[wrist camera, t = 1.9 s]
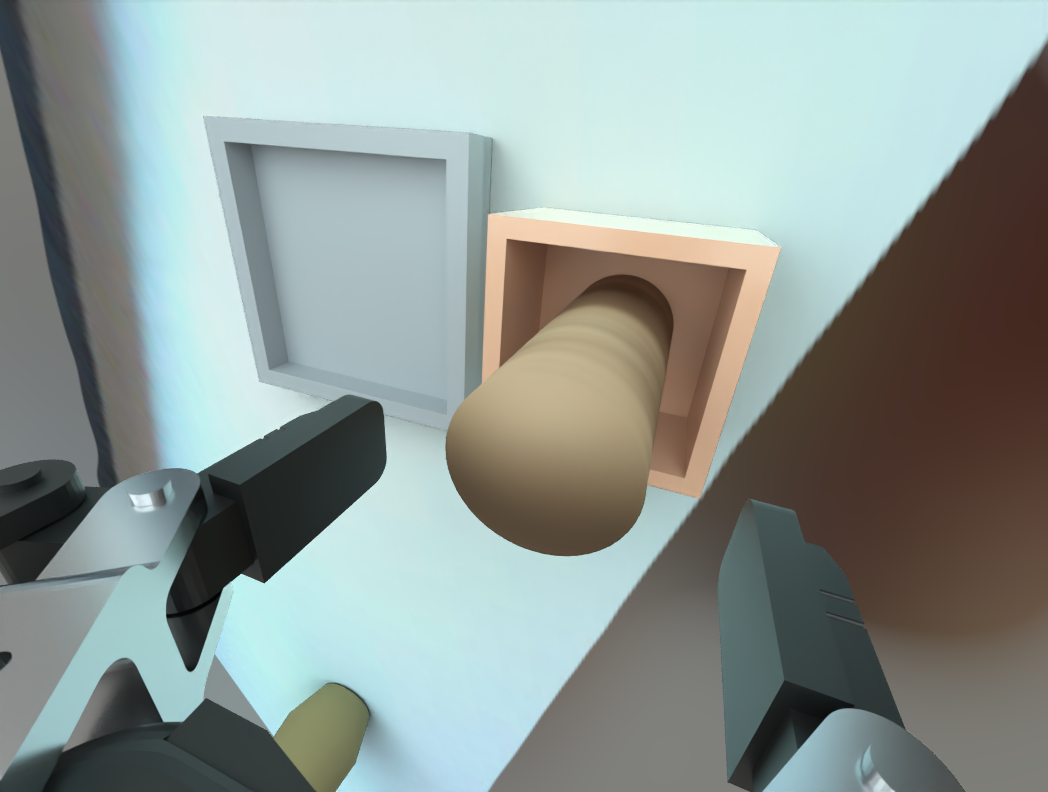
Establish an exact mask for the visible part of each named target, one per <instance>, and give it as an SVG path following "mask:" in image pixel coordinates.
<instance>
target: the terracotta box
mask: <svg viewBox="0 0 1048 792" xmlns="http://www.w3.org/2000/svg"><path fill="white" fill-rule="evenodd" d="M780 250H781V247H780V246H778V245H777V244H775V243H774V242H773V241H771V240H770V239H768V238H767V237H765V236H764V235H763V234H761V233H760V232H758V231H757V230H750V229H741V228H732V227H722V226H713V225H704V224H694V223H685V222H675V221H666V220H657V219H647V218H638V217H629V216H619V215H610V214H601V213H591V212H582V211H573V210H563V209H554V208H544V207H540V208H532V209H524V210H516V211H508V212H500V213H492V214H488V231H487V258H486V284H485V311H484V337H483V364H482V383H483V382H484V381H485V380H486V379H488V378H489V377H490V376H491V375H492V374H493V373H494V372H495V371H496V370H497V369H499V368H500V367H501V366H502V365H503V364H504V363H505V362H506V361H507V360H508V359H510V358H511V357H512V356H513V355H514V354H515V353H516V352H517V351H518V350H519V349H521V348H522V347H523V346H524V345H525V344H526V343H527V342H528V341H529V340H530V339H532V338H533V337H534V336H535V335H536V334H537V333H538V332H539V331H540V330H541V329H543V328H544V327H545V326H546V325H547V324H548V323H549V322H550V321H551V320H552V319H554V318H555V317H556V316H557V315H558V314H559V313H560V312H561V311H562V310H563V309H565V308H566V307H567V306H568V305H569V304H570V303H571V302H572V301H573V300H574V299H576V298H577V297H578V296H579V295H580V294H581V293H582V292H583V291H584V290H585V289H587V288H588V287H589V286H590V285H591V284H593V283H594V282H596V281H598V280H600V279H602V278H605V277H608V276H612V275H620V274H625V275H633V276H637V277H640V278H643V279H645V280H647V281H649V282H650V283H652V284H653V285H655V286H656V287H657V288H658V289H659V290H660V291H661V292H662V293H663V295H664V296H665V297H666V299H667V301H668V302H669V305H670V307H671V310H672V314H673V321H674V323H673V334H672V340H671V346H670V352H669V358H668V363H667V369H666V375H665V381H664V387H663V393H662V399H661V405H660V411H659V417H658V423H657V429H656V435H655V441H654V447H653V453H652V459H651V465H650V471H649V477H648V483H647V485H650V486H654V487H658V488H661V489H665V490H669V491H673V492H676V493H680V494H684V495H688V496H692V497H695V498H699V499H700V497H701V494H702V490H703V487H704V484H705V481H706V478H707V475H708V472H709V469H710V466H711V463H712V460H713V457H714V453H715V450H716V447H717V444H718V441H719V438H720V435H721V432H722V429H723V426H724V423H725V420H726V416H727V413H728V410H729V407H730V404H731V401H732V398H733V395H734V392H735V389H736V386H737V383H738V379H739V376H740V373H741V370H742V367H743V364H744V361H745V358H746V355H747V352H748V349H749V346H750V342H751V339H752V336H753V333H754V330H755V327H756V324H757V321H758V318H759V315H760V312H761V309H762V305H763V302H764V299H765V296H766V293H767V290H768V287H769V284H770V281H771V278H772V275H773V272H774V268H775V265H776V262H777V259H778V256H779V253H780Z"/></svg>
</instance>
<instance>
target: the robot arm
mask: <svg viewBox="0 0 1048 792" xmlns="http://www.w3.org/2000/svg"><path fill="white" fill-rule="evenodd" d="M386 459H387V456H386V441H385V426H384V412H383V408H382V405H381V404H380V403H379V402H377V401H374V400H370V399H366V398H362V397H358V396H355V395H351V394H348V395H344V396H342V397H340V398H339V399H337V400H335V401H334V402H332V403H330V404H328V405H327V406H325V407H323V408H321V409H320V410H318V411H315V412H311V413H308V414H305V415H302V416H299V417H297V418H296V419H294V420H292V421H290V422H288V423H287V424H285V425H283V426H281V427H280V430H277V429H276V430H274V431H272V432H271V433H269V434H267V435H265V436H264V438H263V439H258V440H256V441H254V442H253V443H251V444H249V445H247V446H246V447H244V448H242V449H240V450H238V451H237V452H235V453H233V454H231V455H229V456H228V457H226V458H224V459H222V460H221V461H219V462H217V463H215V464H213V465H212V466H210V467H208V468H206V469H204V470H203V471H201V472H199V473H195V472H193V471H191V470H187V469H180V468H171V469H161V470H155V471H151V472H147V473H143V474H140V475H137V476H134V477H132V478H130V479H127V480H125V481H123V482H121V483H119V484H117V485H116V486H114V487H113V488H101V487H84V485H83V483H82V481H81V478H80V476H79V474H78V472H77V469H76V467H75V465H74V464H72V463H71V462H68V461H64V460H40V461H34V462H28V463H23V464H19V465H16V466H12V467H9V468H5V469H2V470H0V571H1V573H2V575H3V577H4V578H5V580H6V582H7V583H8V585H1V586H0V792H317V791H316V790H315V789H313V787H312V786H311V785H310V784H309V782H308V781H307V780H306V779H305V777H304V776H303V775H302V774H301V772H300V771H299V770H298V769H297V767H296V766H295V765H294V764H293V762H292V761H291V760H290V759H289V757H288V756H287V755H286V754H285V752H284V751H283V750H282V749H281V747H280V746H279V745H278V744H277V742H276V741H275V740H274V739H273V737H272V736H271V735H270V734H269V732H268V731H267V730H265V729H263V728H261V727H259V726H257V725H255V724H254V723H252V722H250V721H248V720H246V719H244V718H242V717H241V716H239V715H237V714H235V713H233V712H231V711H229V710H228V709H226V708H224V707H222V706H220V705H218V704H216V703H214V702H213V701H211V700H209V699H207V698H206V699H205V700H204V701H203V695H204V687H205V683H206V680H207V676H208V673H209V670H210V667H211V663H212V660H213V657H214V654H215V650H216V647H217V644H218V641H219V638H220V634H221V631H222V628H223V625H224V621H225V618H226V615H227V612H228V608H229V605H230V602H231V599H232V595H233V587H232V584H231V581H233V580H234V579H235V578H236V577H237V576H239V575H240V574H244V575H246V576H248V577H251V578H253V579H255V580H258V581H260V582H262V583H265V582H266V581H268V580H269V579H270V578H271V577H272V576H273V575H274V574H275V573H276V572H278V571H279V570H280V569H281V568H282V567H283V566H284V565H285V564H286V563H288V562H289V561H290V560H291V559H292V558H293V557H294V556H295V555H296V554H298V553H299V552H300V551H301V550H302V549H303V548H304V547H305V546H306V545H308V544H309V543H310V542H311V541H312V540H313V539H314V538H315V537H316V536H318V535H319V534H320V533H321V532H322V531H323V530H324V529H325V528H326V527H328V526H329V525H330V524H331V523H332V522H333V521H334V520H335V519H336V518H338V517H339V516H340V515H341V514H342V513H343V512H344V511H345V510H346V509H348V508H349V507H350V506H351V505H352V504H353V503H354V502H355V501H356V500H357V499H359V498H360V497H361V496H362V495H363V494H364V493H365V492H366V491H367V490H369V489H370V488H371V487H372V486H373V485H374V484H375V483H376V482H377V481H378V480H379V479H380V477H381V475H382V473H383V471H384V469H385V465H386ZM854 602H855V598H854V596H853V593H852V591H851V588H850V586H849V583H848V580H847V578H846V575H845V573H844V572H843V571H842V569H841V568H840V567H839V566H838V565H837V563H835V561H834V560H833V559H832V558H831V556H829V554H828V553H827V552H826V551H825V549H824V548H823V547H820V546H817V545H813V544H809V543H806V542H804V539H803V535H802V532H801V529H800V526H799V522H798V519H797V516H796V513H795V512H794V511H793V510H790V509H787V508H782V507H778V506H775V505H771V504H767V503H763V502H760V501H756V500H751V499H748V500H747V501H746V502H745V504H744V506H743V508H742V510H741V513H740V516H739V518H738V521H737V524H736V526H735V529H734V532H733V535H732V537H731V539H730V542H729V545H728V547H727V550H726V552H725V555H724V558H723V561H722V564H721V568H720V573H719V581H718V605H719V624H720V643H721V660H722V661H721V663H722V682H723V700H724V720H725V740H726V759H727V777H728V782H729V783H731V784H733V785H736V786H738V787H740V788H743V789H745V790H747V791H750V792H966V791H965V790H964V788H963V787H962V786H961V785H960V783H959V781H958V780H957V779H956V777H955V776H954V775H953V773H952V772H951V771H950V770H949V769H948V767H947V766H946V765H945V764H944V763H943V762H942V761H941V760H940V759H939V758H938V757H937V756H936V755H935V754H934V753H933V752H932V751H931V750H930V749H929V748H928V747H927V746H926V745H924V744H923V743H922V742H921V741H920V740H918V739H917V738H916V737H914V736H913V735H912V734H911V733H909V732H908V731H906V729H905V727H904V724H903V722H902V719H901V717H900V714H899V712H898V709H897V706H896V704H895V701H894V699H893V696H892V694H891V691H890V688H889V686H888V683H887V681H886V678H885V676H884V673H883V671H882V668H881V665H880V663H879V660H878V657H877V655H876V652H875V650H874V647H873V645H872V642H871V640H870V637H869V635H868V632H867V629H864V628H863V625H864V622H863V619H862V616H861V614H860V611H859V609H858V606H857V605H855V604H854Z"/></svg>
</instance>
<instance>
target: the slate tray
mask: <svg viewBox="0 0 1048 792" xmlns="http://www.w3.org/2000/svg"><path fill="white" fill-rule="evenodd" d="M203 118H204V123H205V127H206V132H207V137H208V141H209V146H210V151H211V156H212V160H213V165H214V170H215V175H216V179H217V184H218V189H219V193H220V198H221V203H222V208H223V212H224V217H225V222H226V227H227V231H228V236H229V241H230V245H231V250H232V255H233V260H234V264H235V269H236V274H237V279H238V283H239V288H240V293H241V297H242V302H243V307H244V312H245V316H246V321H247V326H248V331H249V335H250V340H251V345H252V349H253V354H254V359H255V364H256V368H257V373H258V378H259V382H263V383H267V384H271V385H274V386H278V387H282V388H286V389H289V390H293V391H297V392H301V393H305V394H308V395H312V396H316V397H320V398H324V399H327V400H331V401H335V400H337V399H339V398H340V397H342V396H344V395H348V394H351V395H355V396H358V397H362V398H366V399H370V400H374V401H377V402H379V403H380V404H381V405H382V408H383V412H384V415H388V416H392V417H395V418H399V419H403V420H407V421H411V422H414V423H418V424H422V425H426V426H429V427H433V428H437V429H441V430H445V431H448V427H449V424H450V422H451V419H452V417H453V415H454V413H455V411H456V410H457V408H458V407H459V406H460V404H461V403H462V402H463V401H464V400H465V399H466V398H467V397H468V396H469V395H470V394H471V393H472V392H473V391H474V390H475V389H477V388H478V387H479V386H480V385H481V384H482V364H483V337H484V311H485V284H486V258H487V231H488V214H489V207H490V182H491V156H492V138H489V137H485V136H481V135H477V134H473V133H467V132H451V131H435V130H419V129H403V128H387V127H371V126H355V125H339V124H323V123H307V122H291V121H275V120H259V119H243V118H227V117H211V116H203Z"/></svg>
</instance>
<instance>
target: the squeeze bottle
mask: <svg viewBox="0 0 1048 792" xmlns="http://www.w3.org/2000/svg"><path fill="white" fill-rule="evenodd" d="M369 716H370V714H369V712H368V709H367V707H366V706H365V704H364V703H363V702H362V700H361V699H360V698H358V697H357V696H356V695H355V694H354V693H353V692H351V691H350V690H348V689H346V688H345V687H343V686H340V685H337V684H326V685H325V686H323V687H322V688H321V689H319V690H318V691H317V692H316V693H314V694H313V695H312V696H310V697H309V698H308V699H307V700H305V701H304V702H303V703H302V704H300V705H299V706H298V707H297V708H295V709H294V710H293V711H291V712H290V713H289V714H288V716H287V717H286V719H285V720H284V722H283V724H282V725H281V727H280V728H279V730H278V731H277V733H276V734H275V736H274V737H273V739H274V740H275V741H276V742H277V744H278V745H279V746H280V747H281V749H282V750H283V751H284V752H285V754H286V755H287V756H288V757H289V759H290V760H291V761H292V762H293V764H294V765H295V766H296V767H297V769H298V770H299V771H300V772H301V774H302V775H303V776H304V777H305V779H306V780H307V781H308V782H309V784H310V785H311V786H312V787H313V789H315V790H316V791H317V792H335V791H336V790H337V789H338V787H339V786H340V784H341V783H342V781H343V780H344V779H345V777H346V776H347V774H348V773H349V772H350V770H351V769H352V767H353V766H354V764H355V763H356V759H357V756H358V753H359V750H360V746H361V743H362V740H363V737H364V733H365V730H366V727H367V724H368V720H369Z"/></svg>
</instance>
